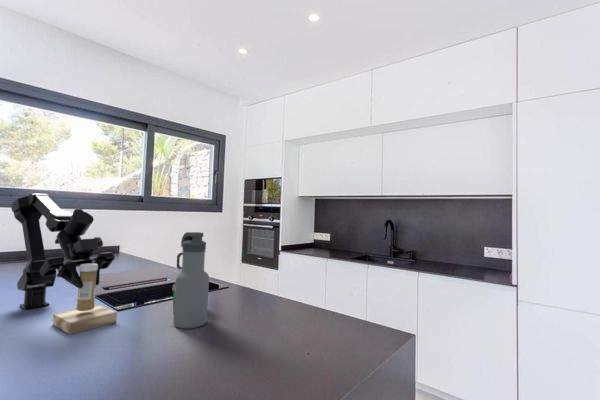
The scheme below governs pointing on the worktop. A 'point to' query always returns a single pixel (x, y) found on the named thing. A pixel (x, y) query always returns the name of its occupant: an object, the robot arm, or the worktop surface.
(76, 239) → the robot arm
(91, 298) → the sprinkles bottle
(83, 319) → the oak stand
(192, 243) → the water bottle
